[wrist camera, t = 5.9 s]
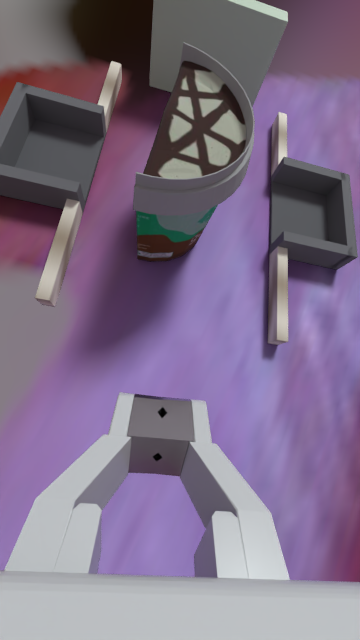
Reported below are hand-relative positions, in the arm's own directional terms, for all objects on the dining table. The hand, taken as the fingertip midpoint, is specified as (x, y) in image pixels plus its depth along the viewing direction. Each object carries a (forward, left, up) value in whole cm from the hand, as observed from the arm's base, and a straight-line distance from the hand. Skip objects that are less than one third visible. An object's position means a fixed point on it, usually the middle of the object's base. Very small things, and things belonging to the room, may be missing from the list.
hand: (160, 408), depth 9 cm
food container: (+16, -1, -11) cm, 19 cm away
